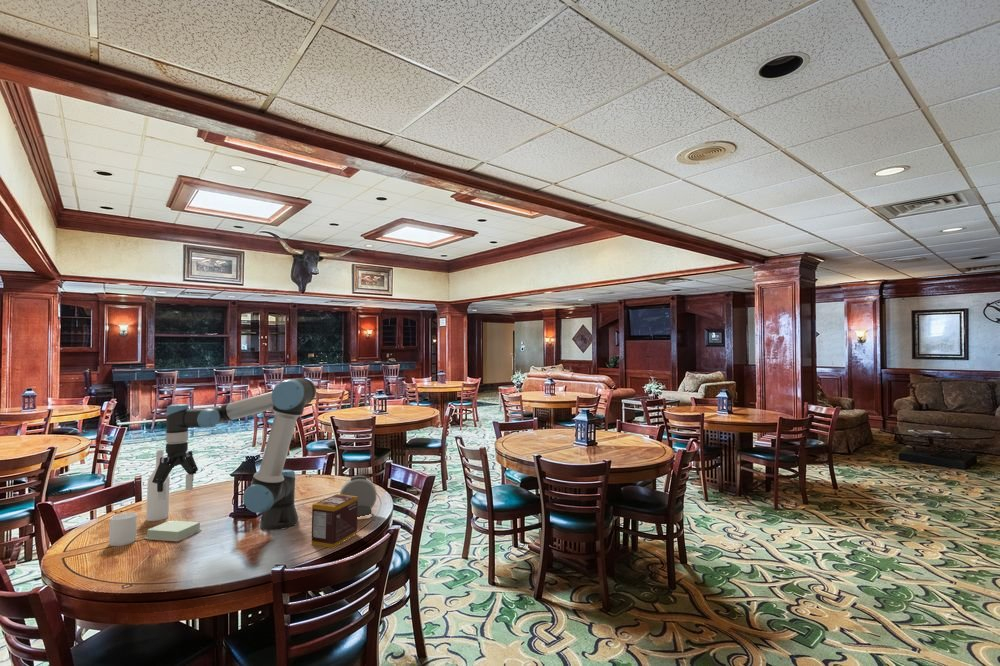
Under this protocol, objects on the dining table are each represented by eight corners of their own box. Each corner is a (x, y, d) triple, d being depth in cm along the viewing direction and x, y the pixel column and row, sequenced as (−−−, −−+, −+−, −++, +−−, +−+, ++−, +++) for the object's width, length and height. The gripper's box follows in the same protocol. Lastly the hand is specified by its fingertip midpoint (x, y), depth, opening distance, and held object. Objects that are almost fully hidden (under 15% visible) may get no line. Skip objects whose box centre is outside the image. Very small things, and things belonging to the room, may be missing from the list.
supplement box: (357, 534, 196) (358, 495, 197) (333, 548, 182) (333, 507, 182) (336, 531, 199) (337, 493, 200) (310, 544, 185) (311, 504, 186)
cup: (107, 548, 180) (108, 520, 181) (111, 538, 190) (112, 512, 191) (134, 543, 185) (136, 517, 185) (137, 533, 195) (138, 508, 195)
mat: (201, 530, 199) (201, 529, 199) (177, 541, 187) (177, 540, 187) (169, 528, 201) (169, 527, 202) (144, 538, 190) (144, 537, 190)
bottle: (147, 522, 208) (149, 453, 209) (145, 517, 214) (148, 450, 215) (169, 518, 213) (172, 450, 215) (167, 513, 219) (169, 447, 221)
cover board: (199, 529, 199) (199, 522, 199) (178, 539, 188) (178, 531, 188) (169, 527, 201) (170, 520, 201) (147, 537, 190) (147, 529, 190)
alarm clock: (375, 511, 225) (375, 472, 226) (376, 518, 215) (377, 477, 216) (339, 514, 220) (339, 474, 221) (338, 522, 210) (339, 480, 211)
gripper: (192, 437, 209) (191, 486, 208) (142, 448, 184) (140, 503, 183) (207, 437, 208) (207, 486, 207) (159, 448, 183) (157, 504, 182)
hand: (175, 494), depth 195 cm, fingers open, 13 cm apart
